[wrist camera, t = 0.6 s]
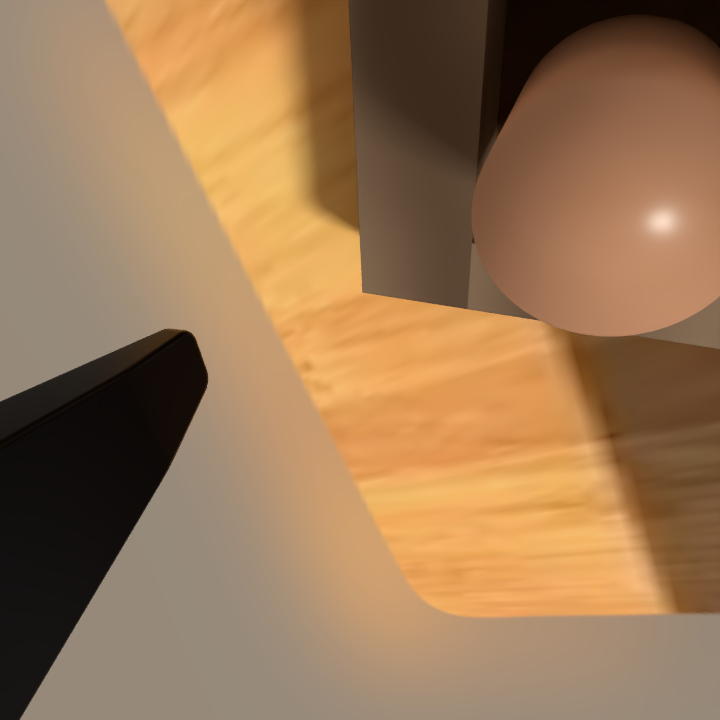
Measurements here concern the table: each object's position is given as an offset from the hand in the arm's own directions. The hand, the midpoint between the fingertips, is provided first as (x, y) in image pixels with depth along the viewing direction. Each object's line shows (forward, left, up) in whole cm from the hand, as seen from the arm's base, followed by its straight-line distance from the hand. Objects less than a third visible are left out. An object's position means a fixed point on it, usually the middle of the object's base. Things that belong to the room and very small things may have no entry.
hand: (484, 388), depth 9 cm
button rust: (-1, 0, -9) cm, 9 cm away
